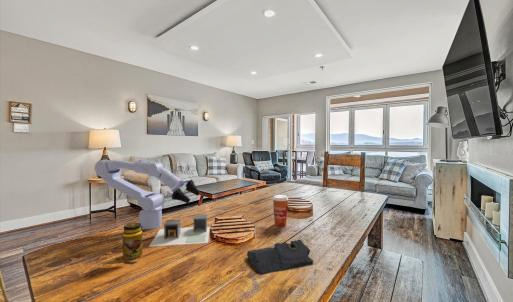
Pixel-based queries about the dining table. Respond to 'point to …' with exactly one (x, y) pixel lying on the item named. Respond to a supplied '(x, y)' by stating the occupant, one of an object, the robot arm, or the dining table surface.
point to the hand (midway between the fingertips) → (194, 197)
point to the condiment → (132, 242)
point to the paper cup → (280, 210)
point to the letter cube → (172, 232)
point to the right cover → (200, 221)
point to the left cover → (172, 224)
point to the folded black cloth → (280, 257)
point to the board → (182, 237)
